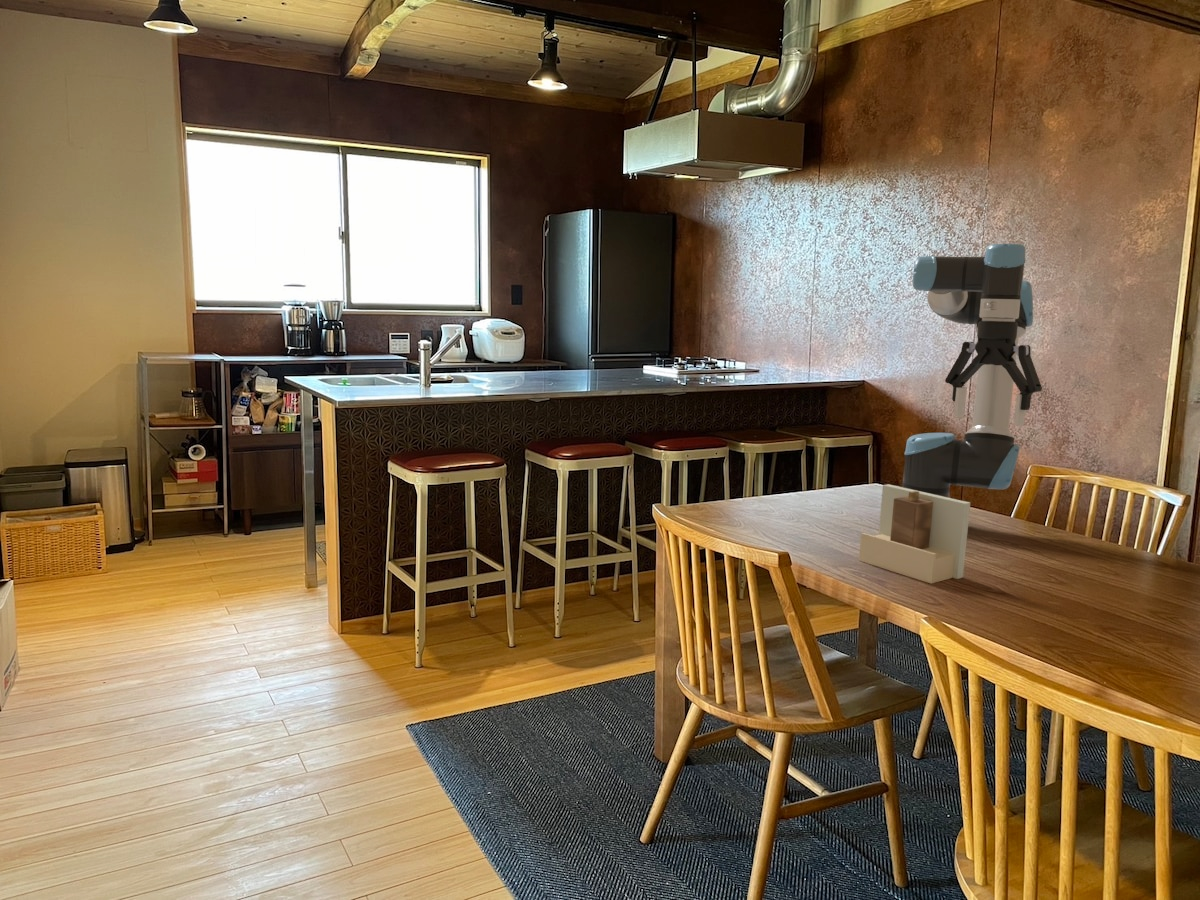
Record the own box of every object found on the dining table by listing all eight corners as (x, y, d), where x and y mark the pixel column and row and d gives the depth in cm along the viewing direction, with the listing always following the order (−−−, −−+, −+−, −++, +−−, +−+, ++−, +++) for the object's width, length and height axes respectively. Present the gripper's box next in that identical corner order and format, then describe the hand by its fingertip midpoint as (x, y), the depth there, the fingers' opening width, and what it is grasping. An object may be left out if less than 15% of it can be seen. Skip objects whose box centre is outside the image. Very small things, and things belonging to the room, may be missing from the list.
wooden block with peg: (904, 540, 188) (909, 487, 186) (928, 547, 183) (933, 493, 181) (889, 544, 185) (894, 490, 183) (913, 551, 180) (918, 496, 178)
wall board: (882, 553, 195) (888, 484, 193) (962, 577, 179) (970, 502, 177) (855, 559, 190) (860, 488, 187) (935, 585, 174) (942, 508, 171)
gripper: (934, 318, 187) (925, 414, 191) (1048, 322, 167) (1035, 430, 171) (954, 318, 191) (945, 413, 195) (1068, 322, 171) (1055, 428, 175)
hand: (987, 421), depth 183 cm, fingers open, 13 cm apart
